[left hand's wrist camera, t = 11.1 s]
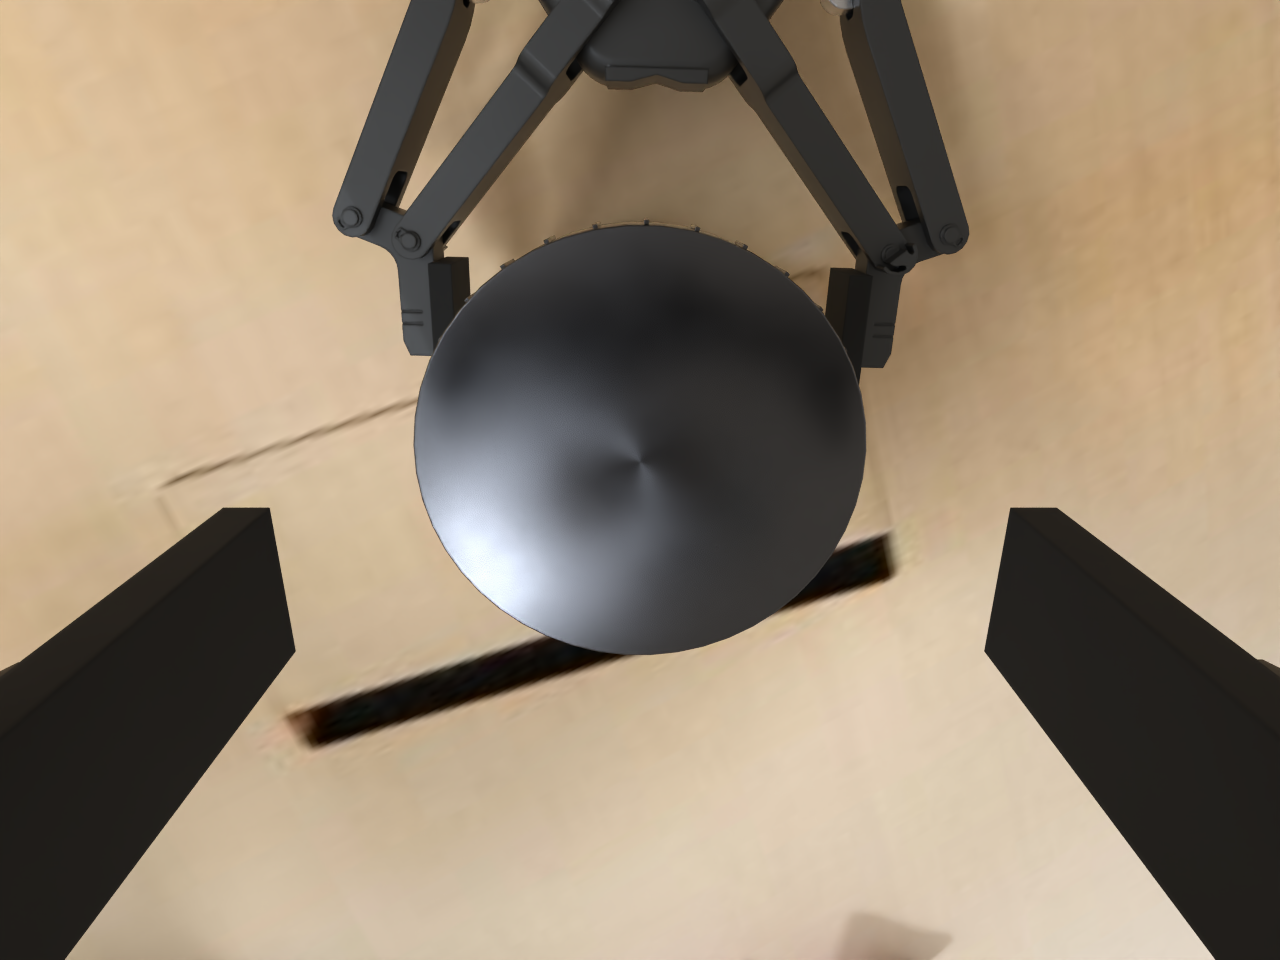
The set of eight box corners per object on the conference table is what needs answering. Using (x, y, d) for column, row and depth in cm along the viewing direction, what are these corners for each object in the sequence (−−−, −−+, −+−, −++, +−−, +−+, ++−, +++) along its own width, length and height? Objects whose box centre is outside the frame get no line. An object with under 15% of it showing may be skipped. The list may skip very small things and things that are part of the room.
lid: (825, 177, 18) (847, 175, 16) (863, 584, 22) (885, 622, 20) (379, 264, 19) (349, 273, 17) (491, 645, 23) (477, 687, 21)
